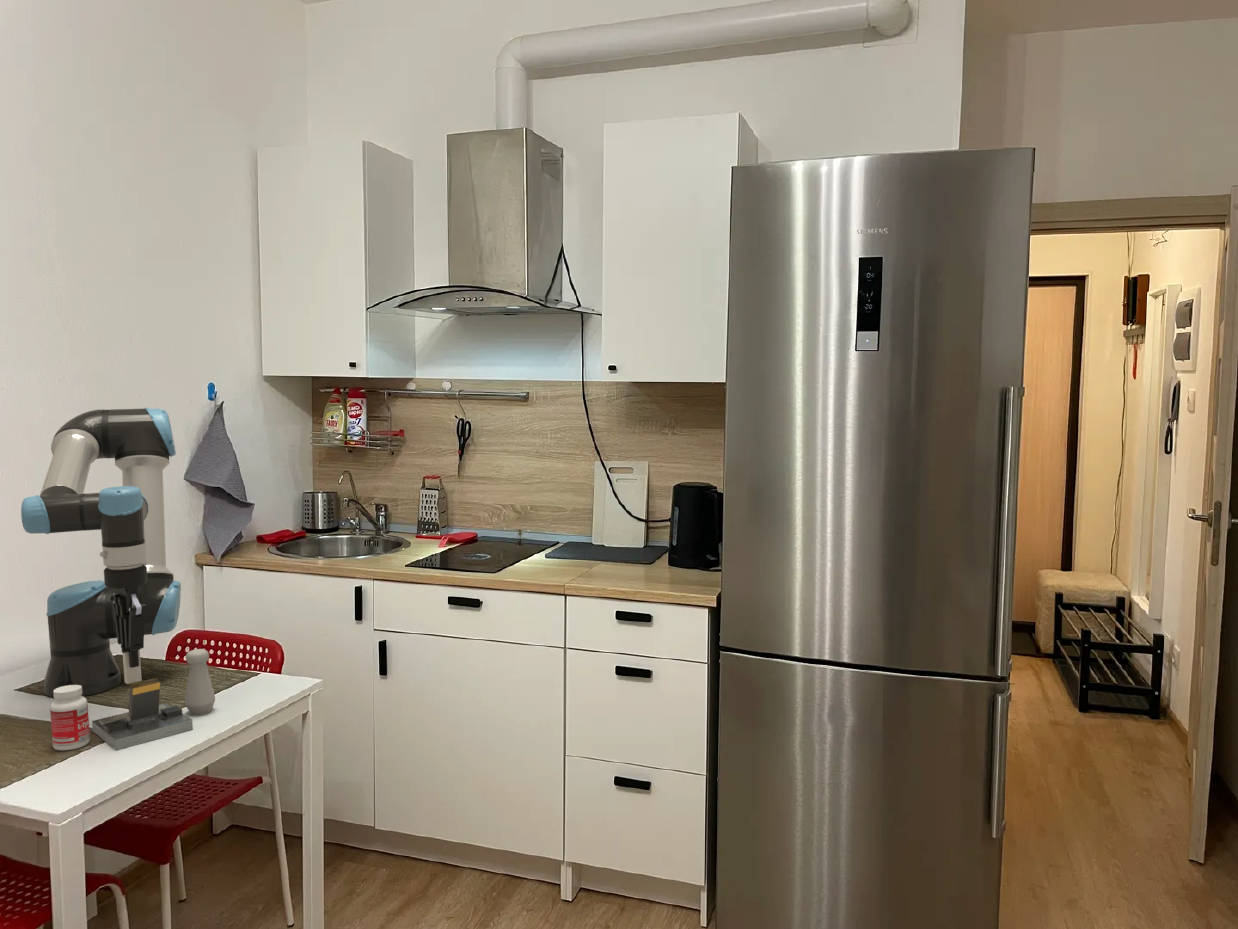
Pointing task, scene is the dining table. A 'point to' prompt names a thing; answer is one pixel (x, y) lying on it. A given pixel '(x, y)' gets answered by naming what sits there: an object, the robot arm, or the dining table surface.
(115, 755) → the dining table surface
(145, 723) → the panel
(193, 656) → the salt shaker
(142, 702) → the paddle
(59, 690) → the pill bottle
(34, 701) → the dining table surface
